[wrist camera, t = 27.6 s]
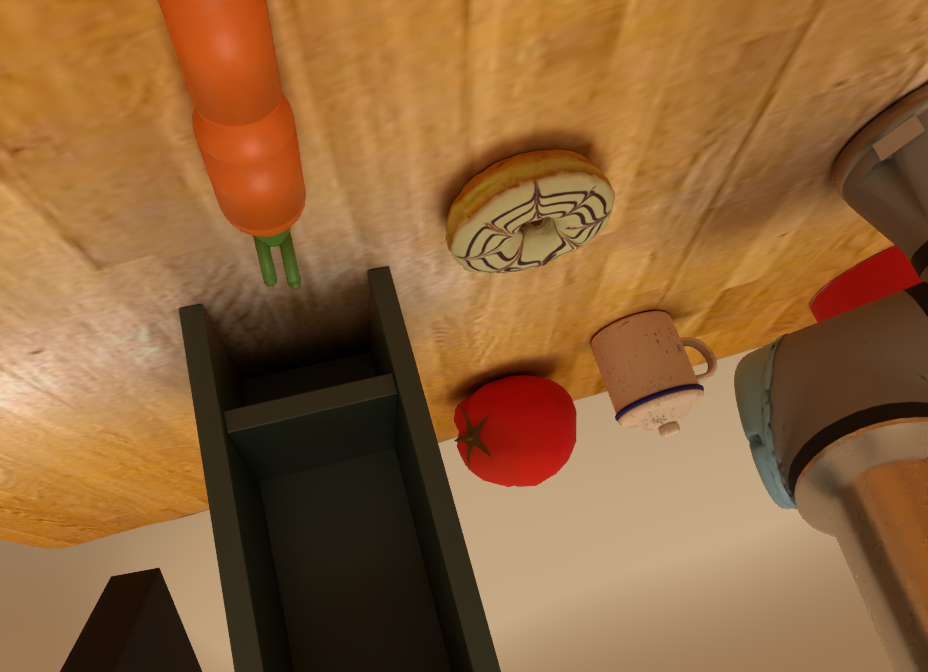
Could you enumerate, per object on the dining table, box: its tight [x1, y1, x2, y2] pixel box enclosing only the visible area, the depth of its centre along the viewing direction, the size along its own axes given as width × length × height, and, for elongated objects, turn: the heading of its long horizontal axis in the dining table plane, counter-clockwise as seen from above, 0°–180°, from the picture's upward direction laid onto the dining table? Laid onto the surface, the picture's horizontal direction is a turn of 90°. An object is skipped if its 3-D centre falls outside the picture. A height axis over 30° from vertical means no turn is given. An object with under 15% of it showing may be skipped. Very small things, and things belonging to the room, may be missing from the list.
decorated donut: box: [446, 149, 615, 273], centre depth 47 cm, size 10×11×4 cm
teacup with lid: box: [591, 311, 717, 437], centre depth 77 cm, size 12×9×12 cm
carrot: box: [158, 0, 306, 289], centre depth 30 cm, size 25×4×5 cm, turn 174°
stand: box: [179, 267, 501, 672], centre depth 52 cm, size 18×14×33 cm
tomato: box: [454, 375, 576, 487], centre depth 81 cm, size 13×13×13 cm
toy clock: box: [810, 246, 921, 322], centre depth 85 cm, size 20×6×20 cm
